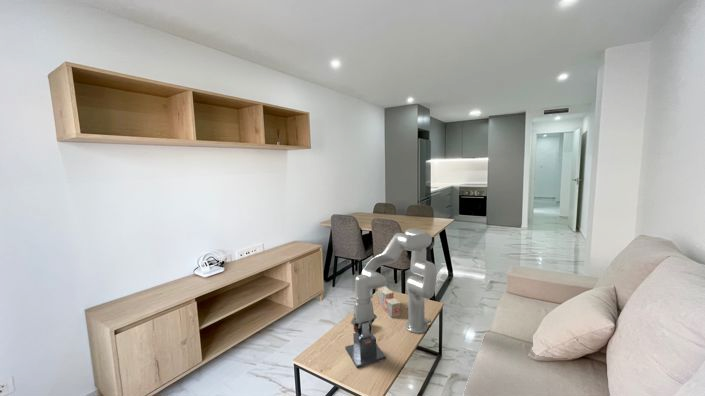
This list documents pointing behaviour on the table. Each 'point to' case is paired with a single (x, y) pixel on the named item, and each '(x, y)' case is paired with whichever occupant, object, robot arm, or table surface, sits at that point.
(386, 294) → the stack of blocks
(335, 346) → the table surface
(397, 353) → the table surface
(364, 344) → the jack base
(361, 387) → the table surface
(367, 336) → the bar
